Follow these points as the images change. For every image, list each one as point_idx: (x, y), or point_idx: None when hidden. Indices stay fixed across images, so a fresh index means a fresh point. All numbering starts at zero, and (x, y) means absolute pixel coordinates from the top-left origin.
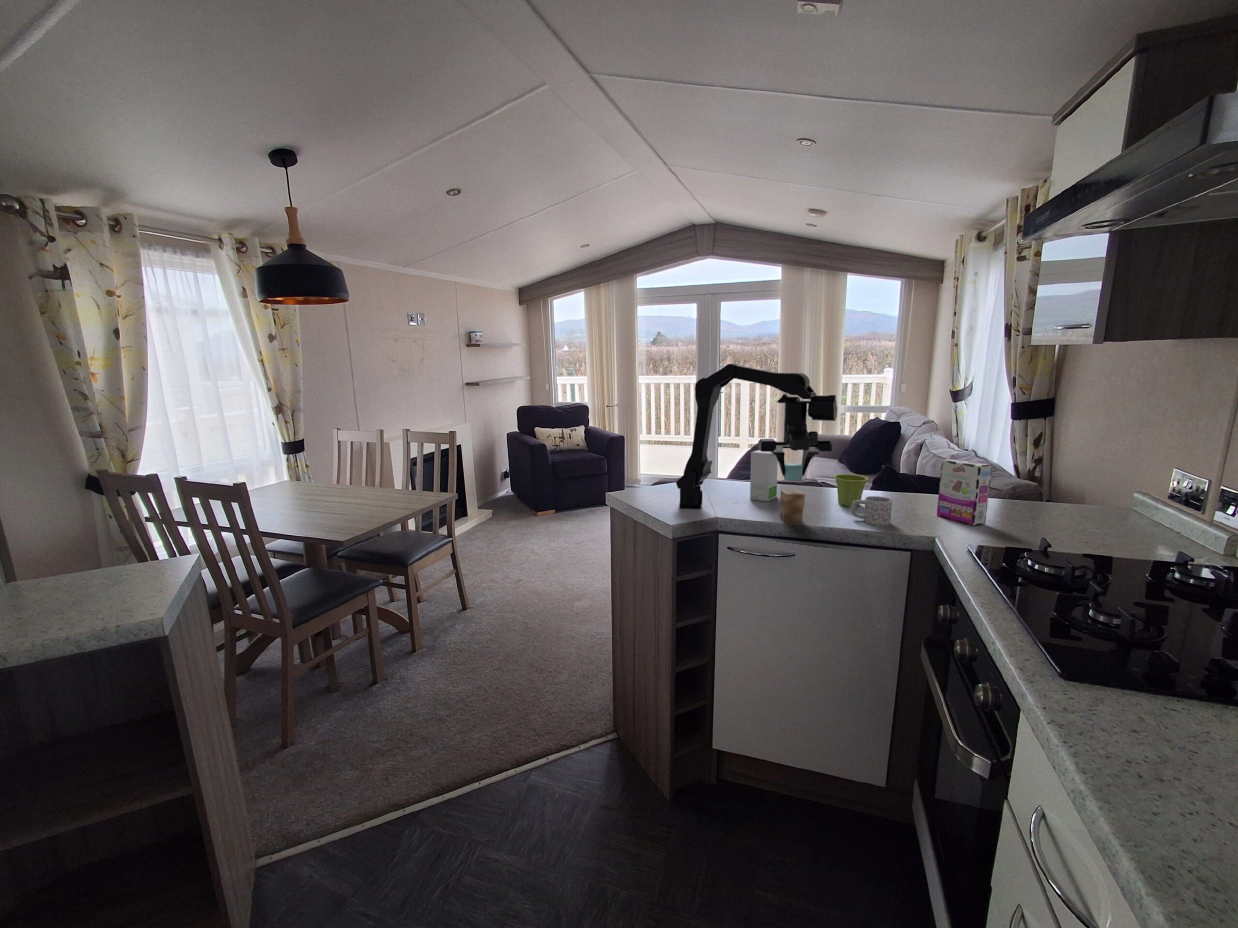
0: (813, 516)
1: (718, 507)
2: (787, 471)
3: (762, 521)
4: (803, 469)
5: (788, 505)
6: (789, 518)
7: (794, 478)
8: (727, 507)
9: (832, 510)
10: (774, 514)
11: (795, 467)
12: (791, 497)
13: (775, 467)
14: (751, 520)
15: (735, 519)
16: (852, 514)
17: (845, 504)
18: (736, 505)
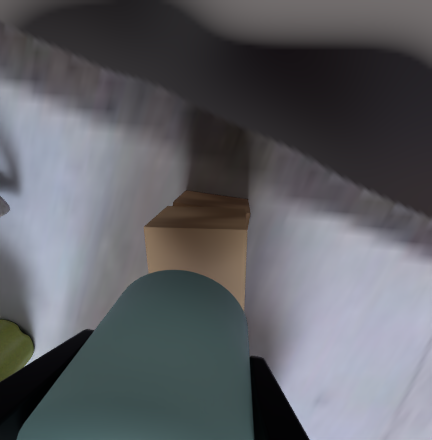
0: (132, 247)
1: (399, 366)
2: (239, 372)
3: (321, 209)
4: (46, 377)
5: (234, 211)
6: (228, 199)
7: (184, 283)
8: (369, 362)
9: (62, 297)
10: (248, 279)
11: (138, 384)
12: (219, 223)
13: None
14: (356, 224)
15: (409, 240)
16: (6, 205)
17: (15, 329)
18: (331, 376)
